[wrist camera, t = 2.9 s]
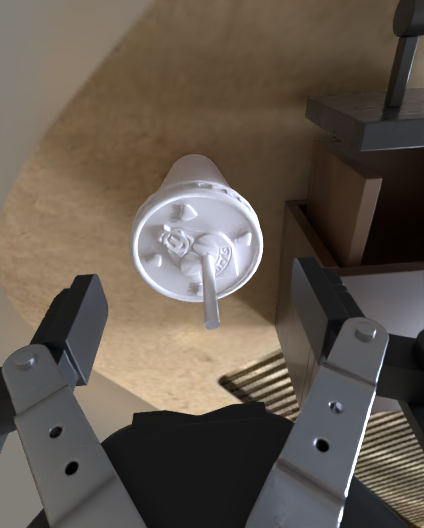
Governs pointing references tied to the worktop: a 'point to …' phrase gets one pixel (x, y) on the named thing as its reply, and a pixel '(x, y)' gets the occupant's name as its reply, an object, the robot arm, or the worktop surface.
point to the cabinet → (361, 289)
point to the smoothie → (196, 237)
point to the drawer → (372, 163)
